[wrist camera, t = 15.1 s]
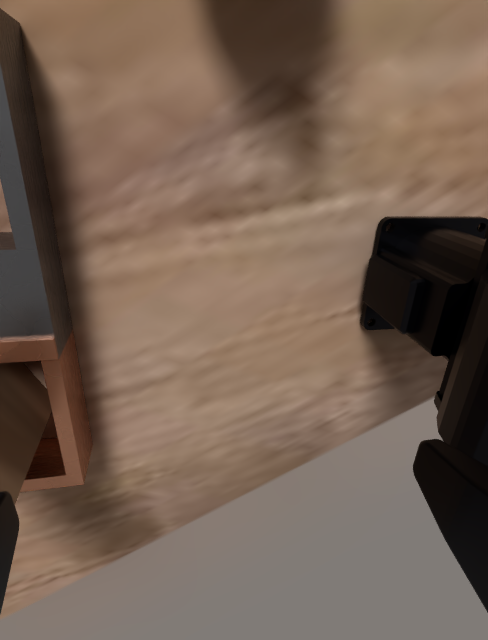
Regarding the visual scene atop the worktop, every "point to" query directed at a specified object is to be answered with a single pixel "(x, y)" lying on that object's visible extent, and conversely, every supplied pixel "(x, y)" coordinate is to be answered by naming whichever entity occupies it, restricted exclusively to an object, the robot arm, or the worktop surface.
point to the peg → (20, 423)
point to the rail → (36, 277)
